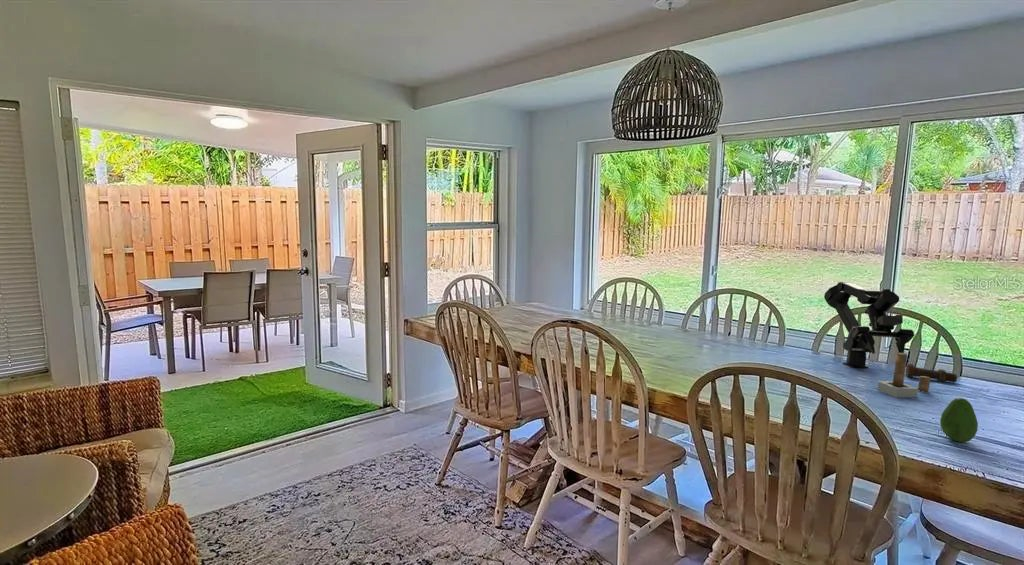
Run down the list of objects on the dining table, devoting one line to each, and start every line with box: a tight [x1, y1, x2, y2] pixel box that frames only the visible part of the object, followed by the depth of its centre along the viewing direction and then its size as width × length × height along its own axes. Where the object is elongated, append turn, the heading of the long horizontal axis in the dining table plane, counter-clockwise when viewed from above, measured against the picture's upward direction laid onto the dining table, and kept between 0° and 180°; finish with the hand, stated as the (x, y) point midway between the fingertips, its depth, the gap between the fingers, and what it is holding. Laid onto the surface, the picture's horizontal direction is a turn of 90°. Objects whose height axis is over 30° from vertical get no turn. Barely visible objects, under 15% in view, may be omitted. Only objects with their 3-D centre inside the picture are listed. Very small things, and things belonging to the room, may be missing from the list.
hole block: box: [876, 380, 919, 399], centre depth 189 cm, size 8×8×3 cm
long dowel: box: [892, 352, 908, 387], centre depth 188 cm, size 3×3×14 cm
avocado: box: [939, 397, 979, 443], centre depth 150 cm, size 8×8×12 cm
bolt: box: [905, 363, 958, 383], centre depth 205 cm, size 6×5×15 cm
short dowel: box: [917, 376, 931, 393], centre depth 192 cm, size 3×3×5 cm
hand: (888, 354), depth 198 cm, fingers open, 9 cm apart
